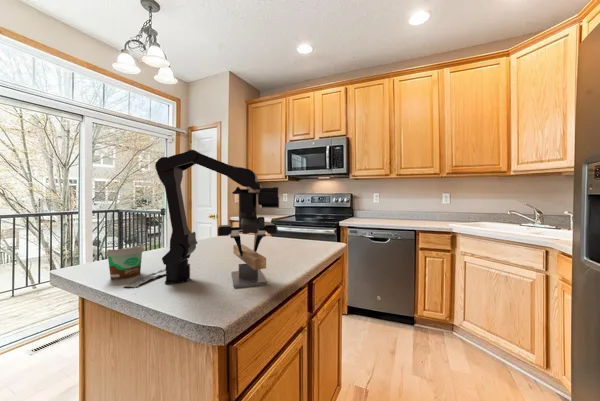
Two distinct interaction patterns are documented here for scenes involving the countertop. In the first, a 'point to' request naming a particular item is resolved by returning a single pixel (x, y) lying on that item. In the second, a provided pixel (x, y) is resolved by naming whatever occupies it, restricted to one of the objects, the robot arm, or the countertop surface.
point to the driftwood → (144, 279)
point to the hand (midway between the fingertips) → (247, 255)
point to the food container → (125, 262)
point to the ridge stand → (247, 277)
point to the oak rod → (250, 257)
